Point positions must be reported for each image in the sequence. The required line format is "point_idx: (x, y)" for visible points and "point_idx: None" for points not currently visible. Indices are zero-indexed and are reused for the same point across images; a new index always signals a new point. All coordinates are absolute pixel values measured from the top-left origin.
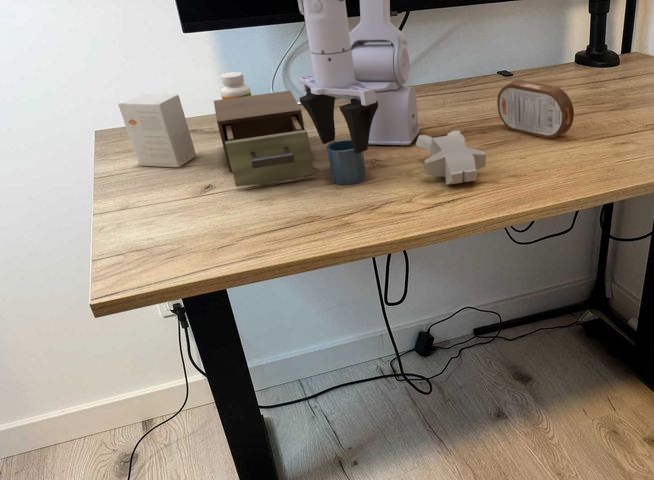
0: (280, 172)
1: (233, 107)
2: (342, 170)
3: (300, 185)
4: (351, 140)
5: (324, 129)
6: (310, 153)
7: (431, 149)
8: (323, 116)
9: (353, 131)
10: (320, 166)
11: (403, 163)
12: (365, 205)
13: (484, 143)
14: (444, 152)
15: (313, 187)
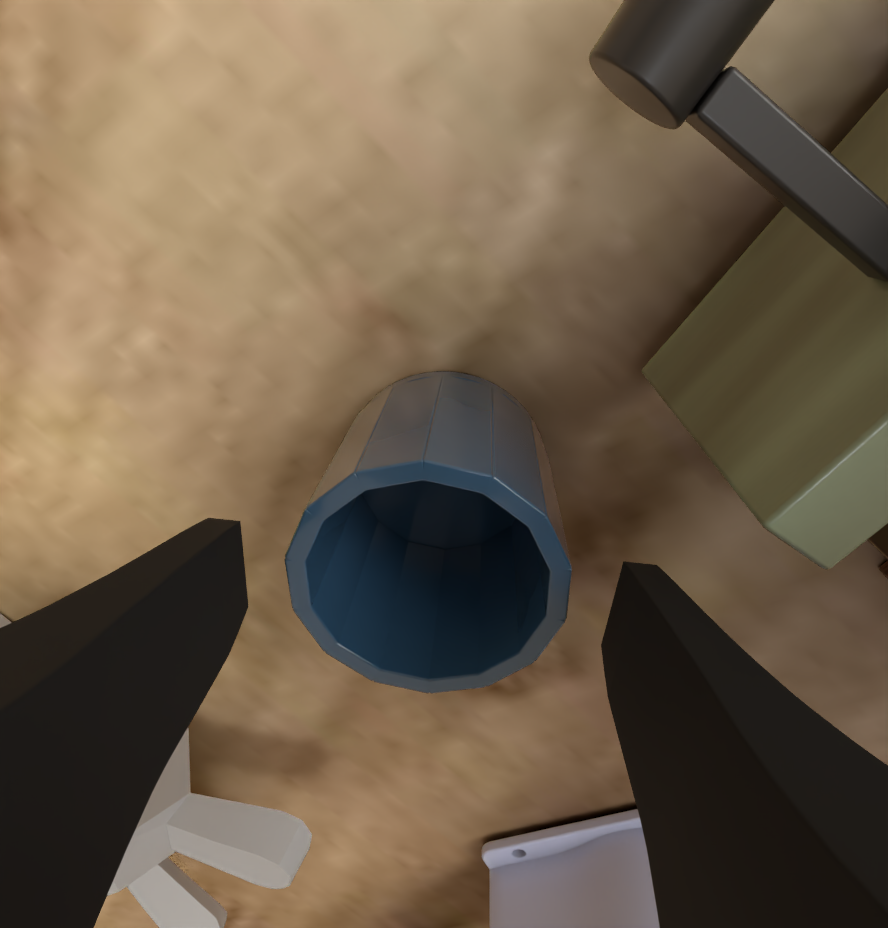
0: (855, 160)
1: None
2: (377, 415)
3: (658, 225)
4: (180, 566)
5: (653, 668)
6: (686, 424)
7: (161, 795)
8: (693, 798)
9: (31, 614)
10: (740, 521)
11: (355, 707)
12: (37, 209)
13: (249, 923)
14: None
15: (545, 248)
